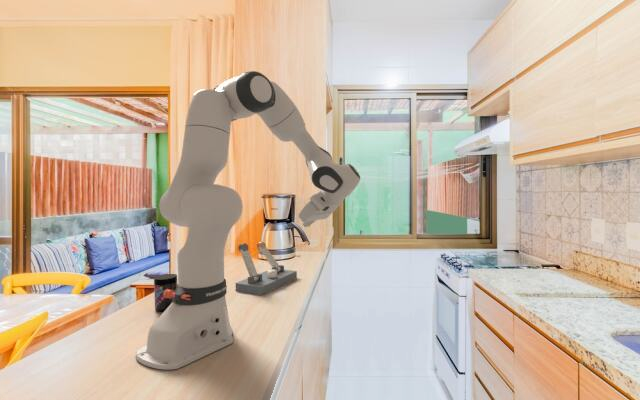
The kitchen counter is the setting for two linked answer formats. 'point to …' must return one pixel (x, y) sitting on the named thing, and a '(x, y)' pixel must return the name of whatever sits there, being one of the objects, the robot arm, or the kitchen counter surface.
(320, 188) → the robot arm
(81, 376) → the kitchen counter surface
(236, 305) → the kitchen counter surface
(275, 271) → the ivory button
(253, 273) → the grey lever
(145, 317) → the kitchen counter surface
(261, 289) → the console
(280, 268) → the control lever
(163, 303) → the supplement container
